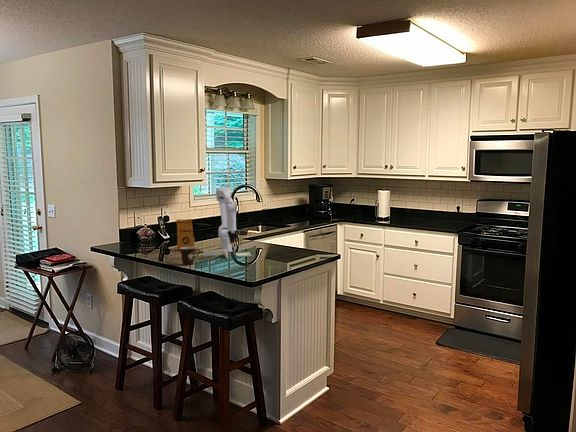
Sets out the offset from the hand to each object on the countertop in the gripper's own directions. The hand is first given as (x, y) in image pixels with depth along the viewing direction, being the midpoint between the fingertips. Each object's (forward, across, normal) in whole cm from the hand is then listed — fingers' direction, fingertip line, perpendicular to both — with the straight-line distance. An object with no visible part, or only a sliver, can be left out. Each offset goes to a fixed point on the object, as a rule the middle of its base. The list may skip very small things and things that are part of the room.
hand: (232, 242), depth 307 cm
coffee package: (+9, -32, -29) cm, 44 cm away
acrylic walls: (+9, +1, -11) cm, 14 cm away
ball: (+1, 0, 0) cm, 1 cm away
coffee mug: (+9, +18, -27) cm, 34 cm away
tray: (+9, 0, +7) cm, 12 cm away
